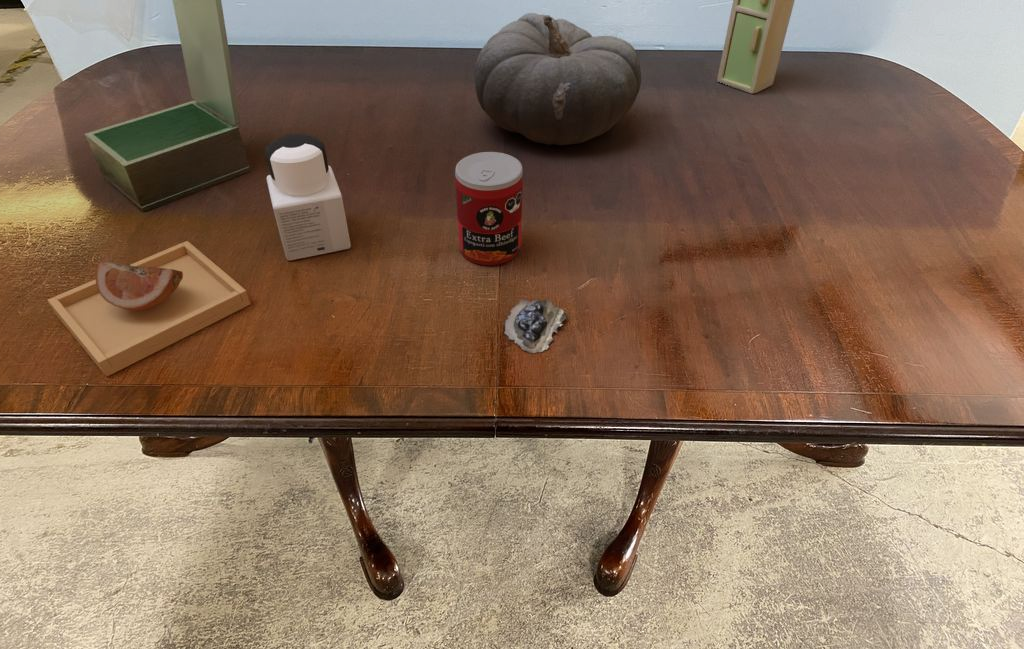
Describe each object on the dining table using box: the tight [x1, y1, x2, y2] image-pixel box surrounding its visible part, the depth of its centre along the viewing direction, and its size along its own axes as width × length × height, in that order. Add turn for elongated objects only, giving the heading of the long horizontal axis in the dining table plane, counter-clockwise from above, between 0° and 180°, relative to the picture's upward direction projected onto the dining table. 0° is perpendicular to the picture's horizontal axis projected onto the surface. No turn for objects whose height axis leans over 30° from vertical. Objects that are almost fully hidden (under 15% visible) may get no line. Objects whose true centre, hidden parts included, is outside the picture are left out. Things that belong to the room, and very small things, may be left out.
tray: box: [47, 240, 251, 377], centre depth 72 cm, size 16×14×2 cm
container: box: [264, 133, 352, 261], centre depth 79 cm, size 8×8×13 cm
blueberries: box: [503, 298, 568, 354], centre depth 71 cm, size 7×8×2 cm
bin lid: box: [172, 0, 241, 125], centre depth 90 cm, size 16×13×1 cm
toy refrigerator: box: [716, 0, 796, 95], centre depth 115 cm, size 8×7×21 cm
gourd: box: [474, 12, 642, 146], centre depth 103 cm, size 25×25×17 cm
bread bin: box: [84, 99, 251, 213], centre depth 93 cm, size 16×13×7 cm
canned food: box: [454, 151, 524, 266], centre depth 79 cm, size 8×8×11 cm
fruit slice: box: [95, 261, 183, 310], centre depth 71 cm, size 8×7×5 cm
